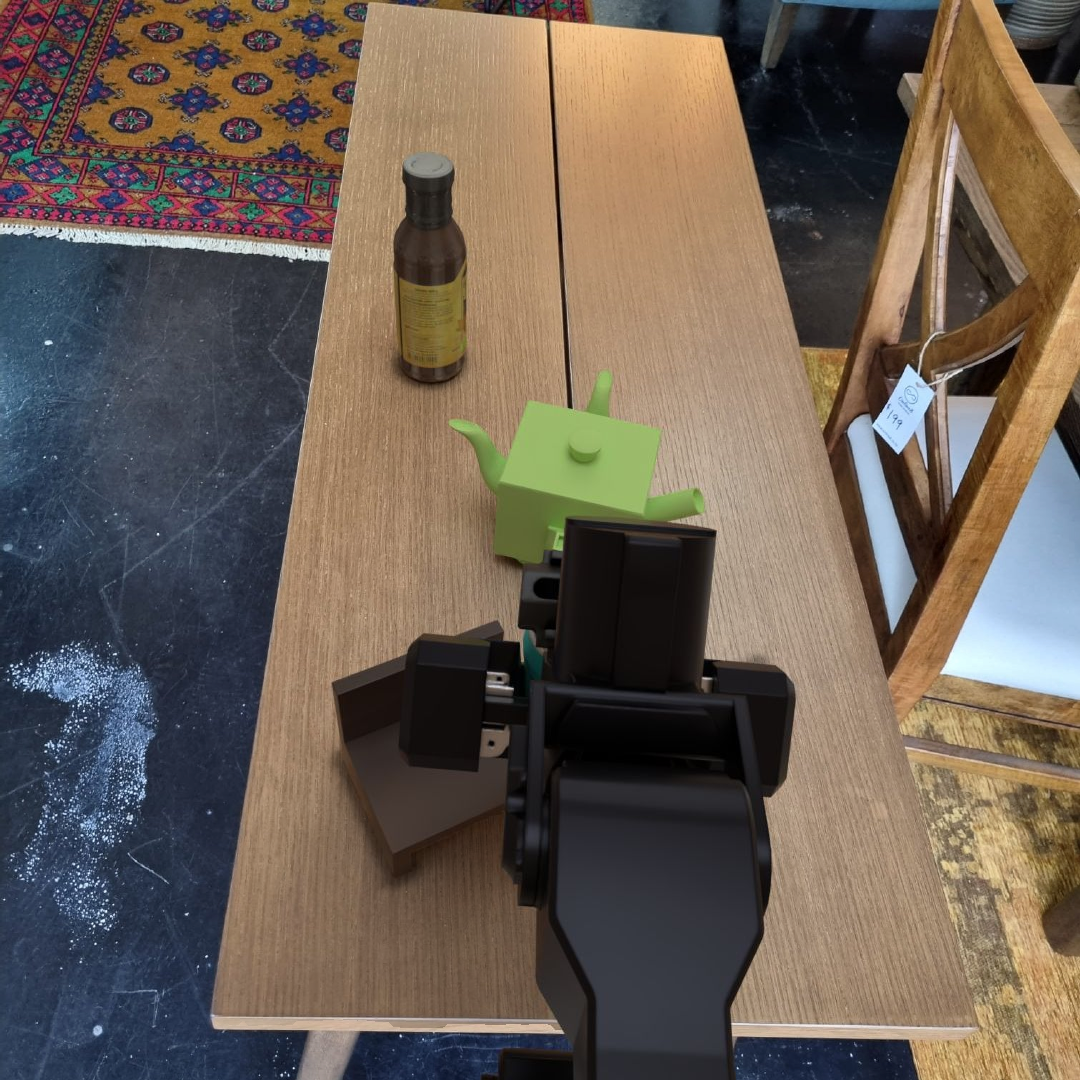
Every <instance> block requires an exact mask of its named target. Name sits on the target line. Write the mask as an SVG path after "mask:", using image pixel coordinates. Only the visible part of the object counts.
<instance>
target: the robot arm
mask: <svg viewBox="0 0 1080 1080" xmlns="http://www.w3.org/2000/svg"><path fill="white" fill-rule="evenodd" d="M717 532H718V530H717V529H714V528H710V527H706V526H699V525H694V524H686V523H679V522H673V521H668V522H663V521H654V520H643V519H632V518H618V517H602V516H567V517H565V527H564V539H563V550H562V551H557V550H551V551H550V550H544V552H543V561H542V562H541V563H539V564H535V563H525V564H522V572H521V581H520V591H519V592H520V593H519V603H518V604H519V605H518V614H517V628H518V629H519V630H523V631H525V630H532V631H534V632H535V634H536V647H538V648H542V647H543V648H547V652H545V651H544V652H543V662H542V672H541V680H531V683H530V694H529V697H525V680H524V661H522V652H521V642H520V641H514V640H493V639H482V638H472V637H461V636H455V635H449V634H439V633H437V634H436V633H426V632H423V633H422V634H421V635H419V636H418V637H417V638H416V639H414V640H413V641H411V643H410V645H409V646H408V648H407V651H406V654H407V657H406V663H405V674H404V685H403V697H402V709H401V720H400V732H399V744H398V746H399V754H400V755H401V756H402V758H403V759H404V760H405V762H406V763H407V764H408V766H410V767H421V768H433V769H444V770H456V771H468V772H478V769H479V759H480V757H487V758H503V759H508V764H507V780H506V796H505V811H503V812H504V813H503V827H502V842H501V843H502V846H501V859H500V860H501V861H500V867H501V868H502V870H503V871H504V872H505V873H506V875H507V876H508V877H509V878H510V879H511V882H512V885H516V889H517V890H516V903H517V904H516V905H517V907H525V908H534V909H535V960H534V961H535V962H534V964H535V966H534V979H535V984H536V986H537V989H538V990H539V993H540V994H541V997H543V999H544V1001H545V1003H546V1004H547V1006H548V1008H549V1010H550V1012H551V1013H552V1015H553V1017H554V1018H555V1020H556V1022H557V1023H558V1025H559V1027H560V1029H561V1031H562V1032H563V1034H564V1036H565V1038H566V1039H567V1041H568V1043H569V1044H570V1046H571V1048H572V1050H558V1049H557V1050H555V1049H541V1048H525V1047H503V1048H502V1049H501V1050H500V1051H499V1052H498V1059H497V1074H495V1073H494V1074H493V1073H481V1074H480V1080H737V1075H736V1066H735V1056H734V1041H733V1027H732V1025H733V1024H732V1012H731V1011H732V1009H731V1008H732V1005H733V1004H734V1002H735V999H736V997H737V995H738V993H739V990H740V989H741V987H742V985H743V982H744V980H745V978H746V975H747V973H748V971H749V969H750V967H751V964H752V962H753V960H754V958H755V956H756V954H757V952H758V950H759V947H760V946H761V943H762V941H763V938H764V935H765V918H764V917H765V915H766V912H767V910H768V907H769V901H770V895H771V890H772V879H773V878H772V876H773V858H772V856H773V855H772V852H773V851H772V844H771V843H772V842H771V834H770V828H769V823H768V817H767V816H768V815H767V810H766V804H765V800H764V799H765V798H769V799H771V798H772V797H773V796H774V795H775V794H776V793H777V792H778V791H779V790H780V789H781V788H782V787H783V785H784V783H785V782H786V780H787V779H788V772H789V771H788V770H789V761H790V754H791V745H792V737H793V729H794V721H795V712H796V703H797V696H796V688H795V683H794V682H793V681H792V680H791V678H790V677H789V676H788V674H787V673H786V672H785V671H784V670H782V669H781V668H780V667H779V666H777V665H776V664H769V663H760V664H759V662H745V661H734V660H724V659H713V658H712V659H711V658H705V653H706V645H707V635H708V623H709V614H710V604H711V596H712V595H711V594H712V585H713V584H712V583H713V575H714V566H715V565H714V564H715V553H716V545H717V535H718V533H717Z"/></svg>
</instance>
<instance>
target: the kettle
mask: <svg viewBox="0 0 1080 1080" xmlns="http://www.w3.org/2000/svg"><path fill="white" fill-rule="evenodd" d="M613 380H614V378H613V373H612V371H610V370H609V369H603V370H602V371H600V373H598V375H597V378H596V380H595V383H594V386H593V390H592V393H591V396H590V399H589V401H588V404H587V405H586V408H585V410H584V411H583V410H577V409H573V408H570V407H569V408H568V407H564V406H560V405H554V404H551V403H545V402H541V401H536V400H529V399H528V400H527V401H526V405H525V406H524V407H525V408H524V411H523V414H522V416H521V418H520V422H519V424H518V426H517V430H516V432H515V436H514V438H513V441H512V444H511V446H510V450H509V453H508V455H507V457H506V456H505V455H502V453H500V451H499V450H498V449H497V447H496V446H495V444H494V442H493V440H492V438H491V437H490V435H489V434H488V433H487V432H486V430H484V429H483V428H482V427H481V426H480V425H478V424H476V423H475V422H472V421H470V420H466V419H460V418H453V419H452V418H451V419H450V420H448V425H449V426H450V427H451V428H452V429H453V430H454V431H456V432H457V433H459V434H461V435H462V436H463V437H465V439H467V441H468V442H469V443H470V445H471V446H472V448H473V451H474V453H475V456H476V460H477V464H478V468H479V471H480V475H481V478H482V480H483V482H484V484H485V485H486V487H487V488H488V491H490V492H491V493H492V494H493V495H495V497H497V498H496V509H495V510H496V511H495V524H494V525H495V526H494V538H493V550H492V553H493V554H496V555H499V556H505V557H509V558H512V559H516V560H517V561H518V562H519V563H520V564H522V565H524V564H525V563H535V564H539V563H541V562H542V561H543V552H544V550H550V551H551V550H557V551H562V550H563V539H564V527H565V517H567V516H602V517H618V518H632V519H643V520H654V521H663V522H673V521H676V520H681V519H687V518H691V517H695V516H700V515H703V514H704V513H705V510H706V502H705V498H704V495H703V492H702V491H701V490H700V488H698V487H696V486H695V487H691V488H687V489H683V490H679V491H673V492H670V493H666V494H661V495H657V496H653V497H649V495H650V490H651V486H652V480H653V475H654V472H655V467H656V463H657V459H658V453H659V450H660V444H661V440H662V435H663V429H662V428H658V427H653V426H649V425H645V424H641V423H636V422H632V421H627V420H623V419H618V418H615V417H610V398H611V392H612V387H613Z"/></svg>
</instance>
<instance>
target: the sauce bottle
mask: <svg viewBox="0 0 1080 1080" xmlns="http://www.w3.org/2000/svg"><path fill="white" fill-rule="evenodd" d="M401 166H402V168H401V169H402V171H401V172H402V173H401V180H402V183H403V184H404V187H405V188H404V189H405V190H404V191H405V207H404V213H405V217H404V218H402V220H401V221H400V222H399V224H398V227H397V228H396V230H395V233H394V235H393V236H394V237H393V243H392V245H393V246H392V248H393V263H392V265H393V266H392V267H393V287H394V289H393V290H394V305H395V306H394V309H395V323H396V325H395V326H396V340H397V341H396V343H397V345H396V346H397V349H398V350H397V351H398V354H399V355H398V357H399V363H400V367H401V368H402V371H403V372H404V373H405V374H406V375H407V376H408V377H410V378H413V379H415V380H417V381H421V382H427V383H435V382H441V381H445V380H449V379H450V378H452V377H454V376H456V375H457V374H459V372H460V371H461V369H462V368H463V366H464V363H465V352H466V349H467V293H468V292H467V291H468V289H467V288H468V287H467V285H468V277H467V275H468V274H467V273H468V249H467V244H466V240H465V236H464V232H463V231H462V229H461V227H460V226H459V224H458V223H457V222H456V220H455V219H454V217H453V215H454V208H453V193H452V192H453V184H454V182H455V174H456V173H455V171H456V170H455V167H454V163H453V161H452V160H451V159H450V158H449V157H448V156H446V155H443V154H441V153H436V152H434V151H421V152H416V153H413V154H410V155H408V156H407V157H406V158H405V159H404V160H403V162H402V165H401Z"/></svg>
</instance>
